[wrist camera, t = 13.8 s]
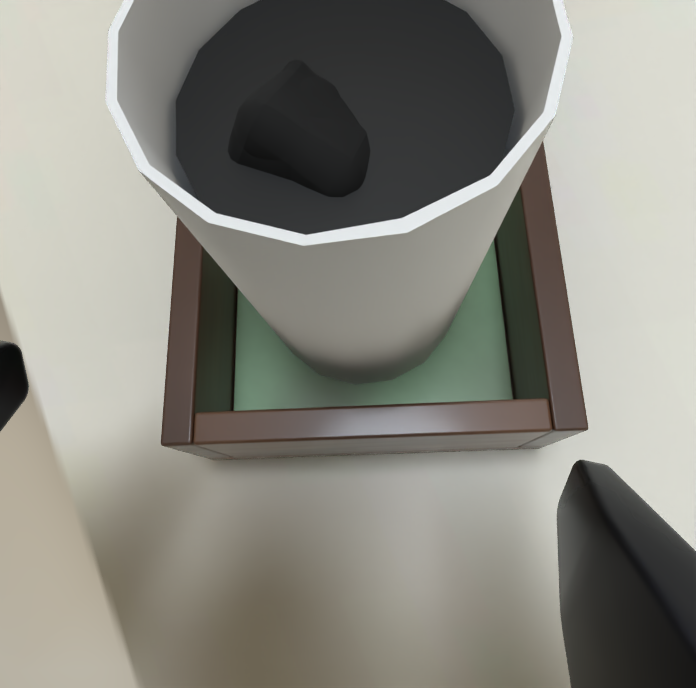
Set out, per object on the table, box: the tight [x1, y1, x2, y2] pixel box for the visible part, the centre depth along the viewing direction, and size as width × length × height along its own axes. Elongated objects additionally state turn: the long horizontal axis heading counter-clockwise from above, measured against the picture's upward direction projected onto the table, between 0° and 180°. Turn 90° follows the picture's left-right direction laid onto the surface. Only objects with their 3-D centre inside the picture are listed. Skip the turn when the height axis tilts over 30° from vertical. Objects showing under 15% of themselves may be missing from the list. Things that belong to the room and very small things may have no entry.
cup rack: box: [161, 141, 588, 460], centre depth 19 cm, size 10×29×4 cm, turn 2°
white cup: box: [106, 0, 573, 384], centre depth 12 cm, size 7×7×10 cm
